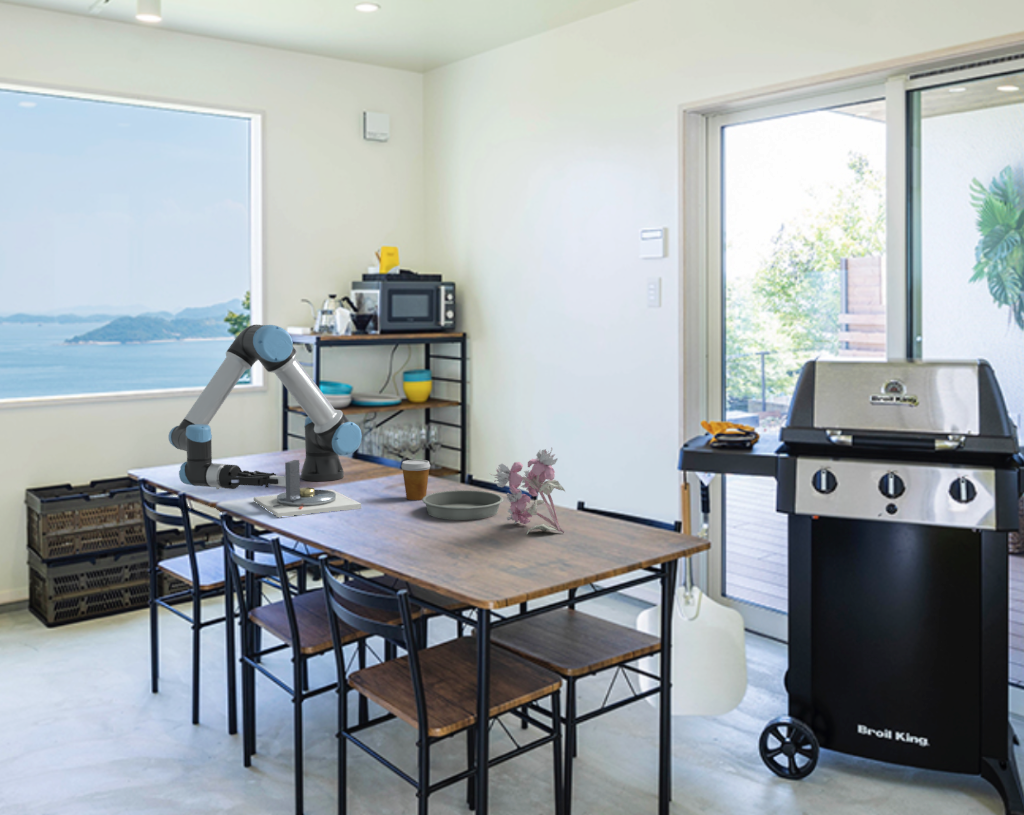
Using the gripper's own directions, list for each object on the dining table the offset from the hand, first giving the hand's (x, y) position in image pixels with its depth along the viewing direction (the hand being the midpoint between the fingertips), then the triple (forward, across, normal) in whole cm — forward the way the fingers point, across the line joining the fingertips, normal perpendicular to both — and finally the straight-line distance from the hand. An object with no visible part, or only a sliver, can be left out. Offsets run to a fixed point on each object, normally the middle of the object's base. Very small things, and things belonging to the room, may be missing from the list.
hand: (289, 481), depth 286 cm
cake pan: (+50, -17, -9) cm, 54 cm away
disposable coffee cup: (+28, -30, -9) cm, 42 cm away
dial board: (+1, -8, -9) cm, 12 cm away
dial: (+1, -7, -7) cm, 10 cm away
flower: (+76, -4, -9) cm, 77 cm away
